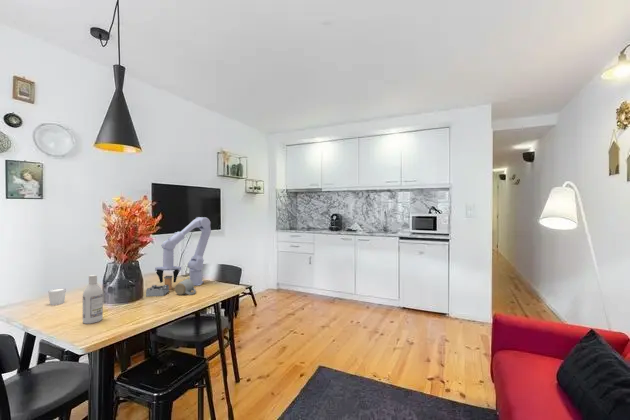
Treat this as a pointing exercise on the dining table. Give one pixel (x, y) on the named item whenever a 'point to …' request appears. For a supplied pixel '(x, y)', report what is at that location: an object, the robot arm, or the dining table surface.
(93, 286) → the bath foam
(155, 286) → the rosette block
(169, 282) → the wedge pin
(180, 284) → the ceramic mug
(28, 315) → the dining table surface
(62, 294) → the white ribbed cup
